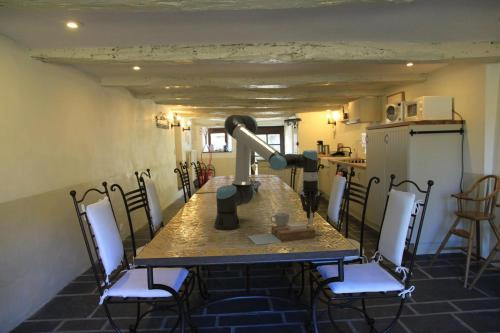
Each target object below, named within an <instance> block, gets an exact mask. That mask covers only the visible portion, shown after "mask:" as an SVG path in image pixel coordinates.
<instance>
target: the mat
mask: <svg viewBox="0 0 500 333" xmlns="http://www.w3.org/2000/svg"><path fill="white" fill-rule="evenodd" d="M247 237H248V239H250V241H252V243H253V244H254V245H256V246H262V245H263V246H264V245H270V244H277V243H278V244H280V243H282V241H281V240H279V239H278V238H277V237H275V236H274V235H273V234H272V232H271V233H270V232H269V233H268V232H267V233H261V234H260V233H259V234H253V235H251V234H250V235H247Z"/></svg>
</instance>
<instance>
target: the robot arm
mask: <svg viewBox="0 0 500 333" xmlns="http://www.w3.org/2000/svg"><path fill="white" fill-rule="evenodd" d="M223 126H224V130H225V132H226V134H228V135H229V136H230V137H231V138H232V139H234V140H235V141H236V142H235V143H236V144H235V146H236V148H235V168H234V169H235V171H234V172H235V174H234V175H235V176H234V178H235V179H234V180H233V181H232V184H227V185H222V186H219V187H218V188H217V189H216V194H215V197H216V217H215V219H214V223H213V224H214V225H213V226H214V227H213V228H215V229H217V230H224V231H225V230H226V231H229V230H235V229H238V228H240V227H241V220H240V218H239V214H238V206H243V205H247V204H249V203H251V202H252V201H253V200H254V198H255V192H256V191H255V188H254V187H253V186H252V182H251V181H250V170H251V169H250V167H251V166H250V165H251V151H253V152H254V153H256V154H257V155H258V156H259V157H261V158H262V159H263V160H265V161H266V162H268V163H269V167H270V169H271V170H273V171H277V172H278V171H284V170H289V169H290V170H291V169H302V179H303V180H302V182H303V183H302V187H303V189H302V192H301V193H298V196H299V198H300V202H301V207H302V211H303V212H306V218H307V225H308V226H309V225H310V226H313V225H314V219H315V213H316V212H318V210H319V206H320V201H321V197H322V196H323V192H320V191H319V188H318V186H319V181H318V179H319V178H318V176H319V175H318V172H319V171H318V166H319V157H318V156H319V155H318V151H317V150H314V149H312V150H310V149H309V150H308V149H307V150H303V151H302V153H299V154H298V153H285V154H282V153H281V152H280V151H279V150H278V149H275V148H274V147H273V146H271V144H269V143H268V142H266V141H265V140H263V139H262V138H261V137H259V136H258V135H257V134H256V133H257V131H258V121H257V119H256V118H254V117H253V116H251V115H247V114H231V115H229V116H227V117H226V119H225V121H224V124H223Z"/></svg>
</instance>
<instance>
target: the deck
mask: <svg viewBox="0 0 500 333" xmlns="http://www.w3.org/2000/svg"><path fill="white" fill-rule="evenodd" d="M271 234H272V235H274V236H275V237H276V238H278V239H279V240H280V241H281V243H284V242H291V241H292V242H293V241H300V240H307V239H315V238H316V230H315V229H314V228H312V227H310V226H309V225H307V229H298V230H290V229H288V228H287V227H286V225H282V226H277V225H276V226H275V225H273V226H271Z"/></svg>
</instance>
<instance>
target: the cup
mask: <svg viewBox="0 0 500 333" xmlns="http://www.w3.org/2000/svg"><path fill="white" fill-rule="evenodd" d="M273 217H274V220H273ZM269 220H270V222H271V223H272V224H276V226H282V225H286V224H287V223H290V222H289V221H290V213H289V212H287V211H277V212H275V213H274V214H272V215H271V216H270V218H269Z"/></svg>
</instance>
